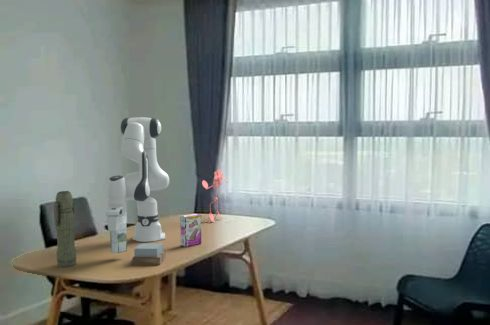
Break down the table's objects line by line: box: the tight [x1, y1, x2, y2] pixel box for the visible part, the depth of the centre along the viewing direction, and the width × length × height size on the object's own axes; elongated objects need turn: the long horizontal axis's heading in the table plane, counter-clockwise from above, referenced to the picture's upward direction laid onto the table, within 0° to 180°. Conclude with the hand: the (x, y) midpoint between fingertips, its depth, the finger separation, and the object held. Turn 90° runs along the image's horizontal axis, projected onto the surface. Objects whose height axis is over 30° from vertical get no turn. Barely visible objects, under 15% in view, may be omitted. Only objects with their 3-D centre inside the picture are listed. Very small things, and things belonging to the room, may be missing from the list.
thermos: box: [53, 190, 78, 268], centre depth 260 cm, size 9×12×35 cm
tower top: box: [133, 242, 164, 257], centre depth 265 cm, size 11×11×4 cm
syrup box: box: [109, 222, 128, 254], centre depth 270 cm, size 6×6×14 cm
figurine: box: [201, 168, 229, 224], centre depth 365 cm, size 15×26×35 cm, turn 152°
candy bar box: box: [179, 213, 202, 248], centre depth 298 cm, size 11×5×16 cm, turn 135°
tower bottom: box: [131, 250, 166, 266], centre depth 265 cm, size 13×13×4 cm
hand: (118, 237), depth 270 cm, fingers closed on syrup box, 7 cm apart
